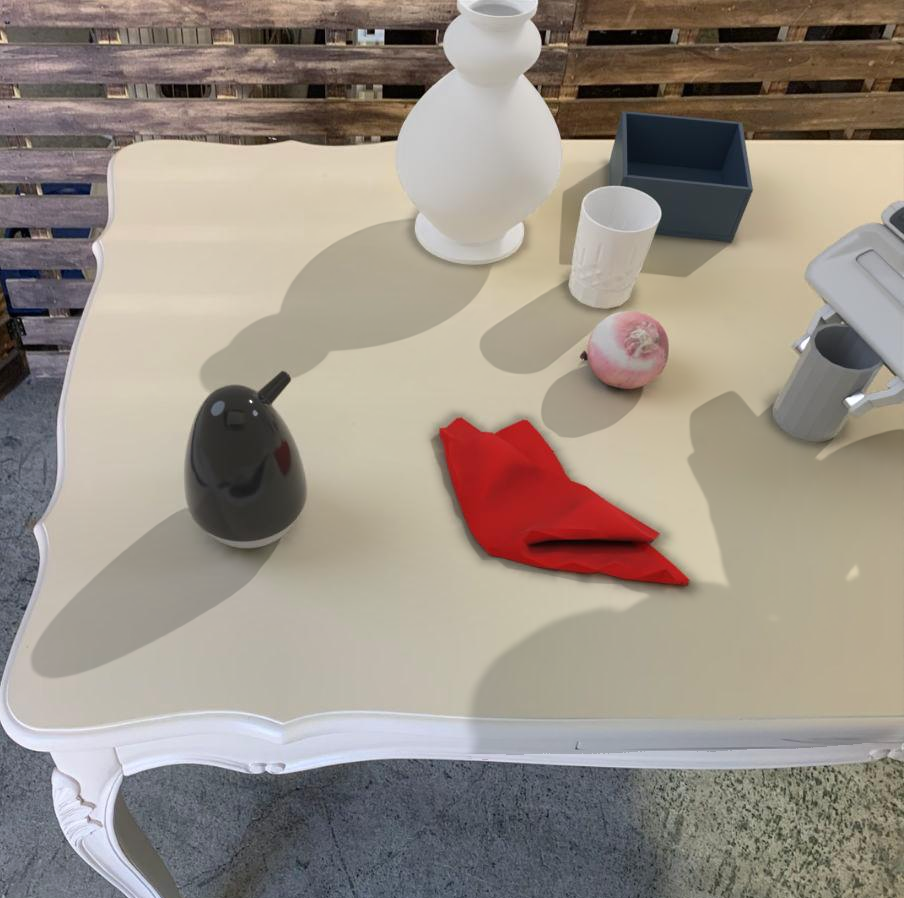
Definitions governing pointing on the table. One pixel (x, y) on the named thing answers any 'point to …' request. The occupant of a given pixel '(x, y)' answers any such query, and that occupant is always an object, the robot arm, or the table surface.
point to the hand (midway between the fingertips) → (821, 381)
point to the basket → (685, 171)
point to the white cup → (611, 244)
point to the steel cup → (825, 383)
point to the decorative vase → (481, 138)
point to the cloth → (544, 508)
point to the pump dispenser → (244, 466)
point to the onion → (627, 350)
